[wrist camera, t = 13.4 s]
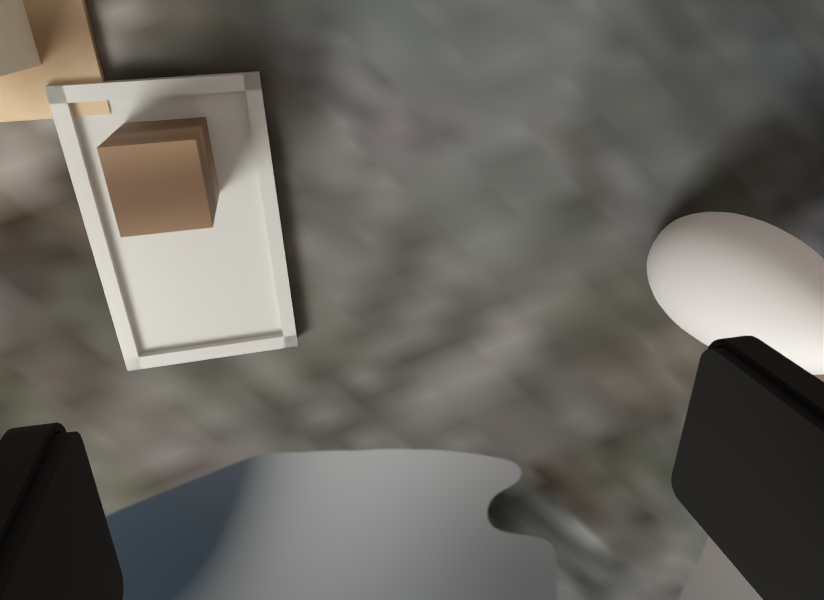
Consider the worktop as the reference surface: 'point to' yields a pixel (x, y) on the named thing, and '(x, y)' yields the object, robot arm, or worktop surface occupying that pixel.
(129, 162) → the walnut block
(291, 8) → the worktop surface
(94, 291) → the worktop surface
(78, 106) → the pad
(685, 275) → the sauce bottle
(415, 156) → the worktop surface
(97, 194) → the tray
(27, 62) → the label box
